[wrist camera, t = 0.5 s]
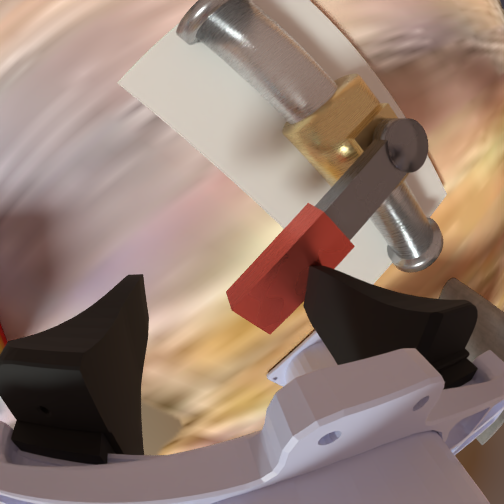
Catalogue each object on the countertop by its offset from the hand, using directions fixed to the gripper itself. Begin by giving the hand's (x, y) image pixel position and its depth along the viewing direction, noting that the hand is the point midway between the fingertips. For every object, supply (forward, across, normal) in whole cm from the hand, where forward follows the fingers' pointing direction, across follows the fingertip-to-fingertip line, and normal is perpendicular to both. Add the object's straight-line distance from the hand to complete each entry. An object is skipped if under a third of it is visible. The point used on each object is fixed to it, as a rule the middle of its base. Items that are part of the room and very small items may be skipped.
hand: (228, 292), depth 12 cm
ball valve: (+10, -8, -7) cm, 15 cm away
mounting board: (+10, -8, -7) cm, 15 cm away
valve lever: (+2, -5, -3) cm, 6 cm away
